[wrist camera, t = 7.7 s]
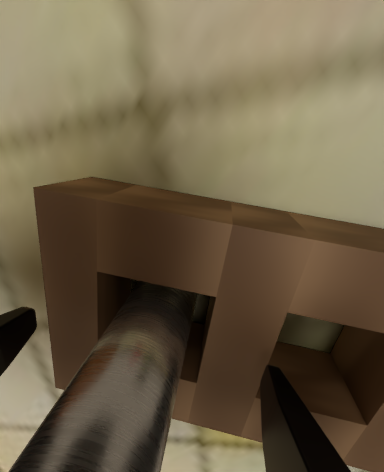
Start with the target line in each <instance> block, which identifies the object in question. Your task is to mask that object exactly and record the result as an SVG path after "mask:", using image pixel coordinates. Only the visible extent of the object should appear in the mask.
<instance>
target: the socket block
mask: <svg viewBox="0 0 384 472" xmlns="http://www.w3.org/2000/svg"><path fill="white" fill-rule="evenodd" d="M33 189H34V198H35V207H36V216H37V225H38V234H39V243H40V252H41V261H42V270H43V279H44V288H45V297H46V306H47V315H48V324H49V333H50V341H51V350H52V359H53V368H54V377H55V386H56V388H59V389H63V390H65V389H66V387H67V386H68V384H69V383H70V381H71V380H72V378H73V377H74V375H75V374H76V373H77V371H78V370H79V368H80V367H81V365H82V364H83V362H84V361H85V359H86V358H87V357H88V355H89V354H90V352H91V351H92V349H93V348H94V346H95V345H96V343H97V342H98V340H99V339H100V338H101V336H102V335H103V333H104V332H105V330H106V329H107V327H108V326H109V324H110V323H111V322H112V320H113V319H114V317H115V316H116V314H117V313H118V311H119V310H120V308H121V307H122V305H123V304H124V303H125V301H126V300H127V298H128V297H129V295H130V292H131V279H134V280H139V281H143V282H148V283H153V284H157V285H162V286H167V287H171V288H176V289H181V290H185V291H190V292H195V293H199V294H204V295H208V296H211V297H210V302H209V307H208V311H207V316H206V321H205V325H202V324H198V323H193V322H192V323H191V328H190V333H189V338H188V342H187V347H186V352H185V357H184V361H183V366H182V371H181V376H180V380H179V385H178V390H177V395H176V399H175V404H174V409H173V414H172V419H176V420H179V421H183V422H187V423H191V424H194V425H198V426H202V427H206V428H209V429H213V430H217V431H221V432H225V433H228V434H232V435H236V436H240V437H243V438H247V439H251V440H255V441H258V442H262V428H261V399H260V382H261V378H262V375H263V373H264V370H265V367H266V366H267V365H268V364H269V365H274V366H277V367H279V368H280V369H281V370H282V372H283V373H284V375H285V376H286V378H287V379H288V381H289V382H290V383H291V385H292V386H293V388H294V389H295V391H296V392H297V394H298V395H299V397H300V398H301V399H302V401H303V402H304V404H305V405H306V407H307V408H308V410H309V411H310V413H311V414H312V416H313V417H314V418H315V420H316V421H317V423H318V424H319V426H320V427H321V429H322V430H323V432H324V433H325V435H326V436H327V437H328V439H329V440H330V442H331V443H332V445H333V446H334V448H335V449H336V451H337V452H338V453H339V455H340V456H341V458H342V459H343V461H344V462H345V464H346V465H349V466H352V467H356V468H360V469H364V470H367V471H371V472H384V229H381V228H376V227H370V226H364V225H359V224H353V223H348V222H342V221H336V220H331V219H325V218H320V217H314V216H308V215H303V214H297V213H291V212H286V211H280V210H275V209H269V208H263V207H258V206H252V205H246V204H241V203H235V202H230V201H224V200H218V199H213V198H207V197H202V196H196V195H190V194H185V193H179V192H173V191H168V190H162V189H157V188H151V187H145V186H140V185H134V184H128V183H123V182H117V181H112V180H106V179H100V178H95V177H89V178H83V179H78V180H72V181H66V182H61V183H55V184H50V185H44V186H39V187H33ZM287 313H292V314H297V315H301V316H306V317H311V318H315V319H320V320H325V321H329V322H334V323H338V324H343V325H345V326H344V328H343V330H342V332H341V334H340V336H339V338H338V340H337V342H336V343H335V345H334V347H333V349H332V351H331V353H325V352H321V351H317V350H312V349H308V348H303V347H299V346H294V345H290V344H286V343H281V342H277V339H278V336H279V334H280V331H281V329H282V326H283V323H284V321H285V318H286V315H287ZM262 443H263V442H262Z"/></svg>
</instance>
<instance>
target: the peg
mask: <svg viewBox="0 0 384 472" xmlns="http://www.w3.org/2000/svg"><path fill="white" fill-rule="evenodd" d="M197 295H198V293H195V292H190V291H185V290H181V289H176V288H171V287H167V286H162V285H157V284H153V283H148V282H143V281H139V282H138V284H137V285H136V287H135V288H134V289H133V291H132V292H131V294H130V295H129V297H128V298H127V300H126V301H125V303H124V304H123V305H122V307H121V308H120V310H119V311H118V313H117V314H116V316H115V317H114V319H113V320H112V322H111V323H110V324H109V326H108V327H107V329H106V330H105V332H104V333H103V335H102V336H101V338H100V339H99V340H98V342H97V343H96V345H95V346H94V348H93V349H92V351H91V352H90V354H89V355H88V357H87V358H86V359H85V361H84V362H83V364H82V365H81V367H80V368H79V370H78V371H77V373H76V374H75V375H74V377H73V378H72V380H71V381H70V383H69V384H68V386H67V387H66V389H65V390H64V392H63V393H62V394H61V396H60V397H59V399H58V400H57V402H56V403H55V405H54V406H53V408H52V409H51V411H50V412H49V413H48V415H47V416H46V418H45V419H44V421H43V422H42V424H41V425H40V427H39V428H38V429H37V431H36V432H35V434H34V435H33V437H32V438H31V440H30V441H29V443H28V444H27V446H26V447H25V448H24V450H23V451H22V453H21V454H20V456H19V457H18V459H17V460H16V462H15V463H14V464H13V466H12V467H11V469H10V470H9V472H160V470H161V466H162V461H163V456H164V451H165V447H166V442H167V437H168V432H169V428H170V423H171V418H172V414H173V409H174V404H175V399H176V395H177V390H178V385H179V380H180V376H181V371H182V366H183V361H184V357H185V352H186V347H187V342H188V338H189V333H190V328H191V323H192V319H193V314H194V309H195V304H196V300H197Z"/></svg>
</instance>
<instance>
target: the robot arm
mask: <svg viewBox="0 0 384 472" xmlns="http://www.w3.org/2000/svg"><path fill="white" fill-rule="evenodd" d="M36 327H37V321H36V314H35V310H34V309H32V308H28V307H21V308H18V309H15V310H12V311H10V312H7V313H4V314H2V315H0V376H1V375H2V374H3V373H4V371H5V370H6V369H7V368H8V366H9V365H10V364H11V362H12V361H13V360H14V358H15V357H16V356H17V354H18V353H19V352H20V350H21V349H22V348H23V346H24V345H25V344H26V342H27V341H28V340H29V338H30V337H31V336H32V334H33V333H34V332H35V330H36ZM260 399H261V428H262V442H263V451H264V459H265V466H266V472H351V471H350V470H349V468H348V467H347V465H346V464H345V462H344V461H343V459H342V458H341V456H340V455H339V453H338V452H337V451H336V449H335V448H334V446H333V445H332V443H331V442H330V440H329V439H328V437H327V436H326V435H325V433H324V432H323V430H322V429H321V427H320V426H319V424H318V423H317V421H316V420H315V418H314V417H313V416H312V414H311V413H310V411H309V410H308V408H307V407H306V405H305V404H304V402H303V401H302V399H301V398H300V397H299V395H298V394H297V392H296V391H295V389H294V388H293V386H292V385H291V383H290V382H289V381H288V379H287V378H286V376H285V375H284V373H283V372H282V370H281V369H280V368H279V367H277V366H274V365H269V364H268V365H267V366H266V367H265V370H264V373H263V375H262V378H261V382H260Z"/></svg>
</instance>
